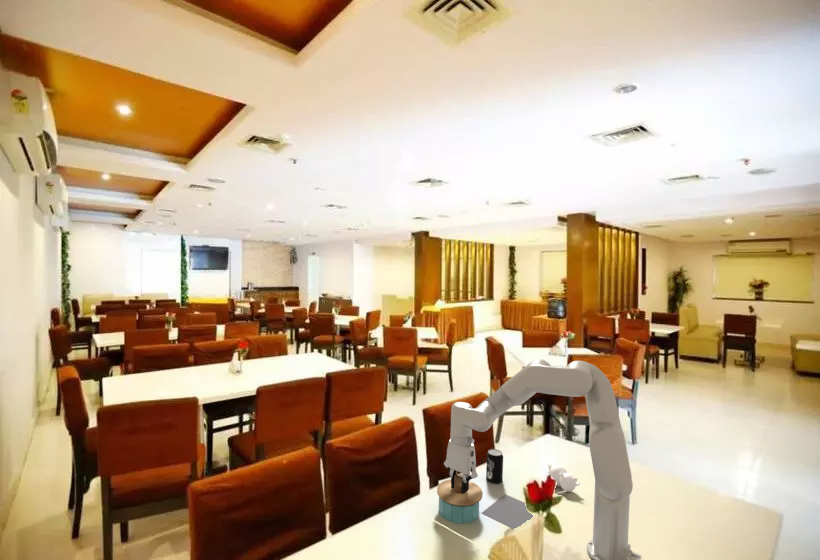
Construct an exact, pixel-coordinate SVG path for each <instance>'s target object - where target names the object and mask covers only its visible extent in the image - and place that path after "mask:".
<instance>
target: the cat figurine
mask: <svg viewBox="0 0 820 560" xmlns="http://www.w3.org/2000/svg"><path fill="white" fill-rule="evenodd" d="M547 467H548V469H549V470H548V474H547V475H551V476H552V477H553V478H554V479H556V482H557V485H556V487H560V488H561V489H562V490H561V491H557V492H556V493H555V494H556V495H563V494H564V493H565V494H566V492H568V493H570V492H573V491H574V490H575V489H576V488H577V487H579V486H580V484H581V483H580V482H577V481H578V477H576V478H575V476H574V475H573V474H572V473H568V472H567V470H566V468H565V467H564V466H561V465H559V464H556V465H553V464H548V465H547Z"/></svg>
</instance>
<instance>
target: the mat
mask: <svg viewBox="0 0 820 560" xmlns="http://www.w3.org/2000/svg"><path fill="white" fill-rule="evenodd" d="M525 503H526V502H524V501H521V500H520V499H517V498H516V497H513V496H511V495H508V494H506V493H504V494H503V495H502V496H500V498H498V499H497V500H496V501H495V502H493V503H492V504H491V505H489V506H488V507H487V508H486V509H485V510H482V512H481V514H482V515H484V516H486V517H488V518H490V519H493V520H494V521H496V522H498V523H500V524H503V525H505V526H506V527H508V528H511V529H512V528H517V527H519V526H521V525H522V524H523V523H525V522H526V521H527V520H530V519H531V518H532V517H533V515H532V514H531V513H529V512H528V511H527V509H526V506H525Z"/></svg>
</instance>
